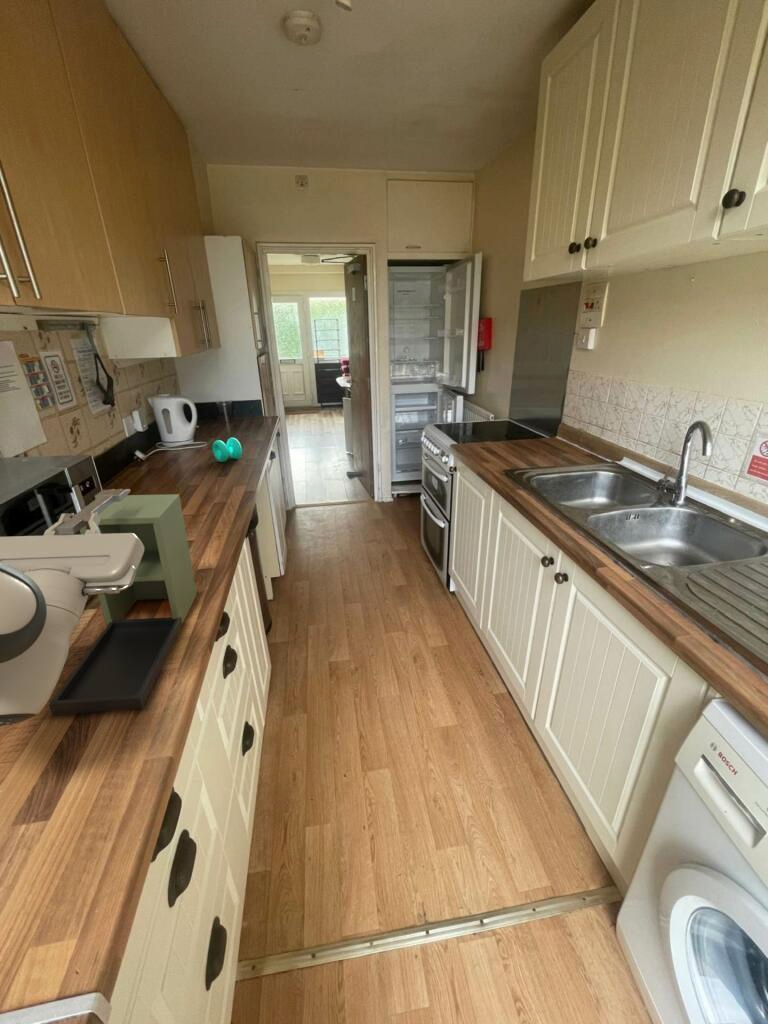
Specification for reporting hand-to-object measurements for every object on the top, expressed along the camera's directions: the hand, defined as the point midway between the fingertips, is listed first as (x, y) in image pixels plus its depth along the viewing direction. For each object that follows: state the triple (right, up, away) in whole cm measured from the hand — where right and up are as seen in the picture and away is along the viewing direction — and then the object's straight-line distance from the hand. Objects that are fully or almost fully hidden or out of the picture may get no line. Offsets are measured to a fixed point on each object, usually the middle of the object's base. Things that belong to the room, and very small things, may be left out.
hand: (81, 515), depth 66 cm
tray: (0, -28, +12) cm, 30 cm away
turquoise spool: (-25, +24, +131) cm, 136 cm away
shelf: (-3, -21, +26) cm, 34 cm away
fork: (0, 0, +3) cm, 3 cm away
